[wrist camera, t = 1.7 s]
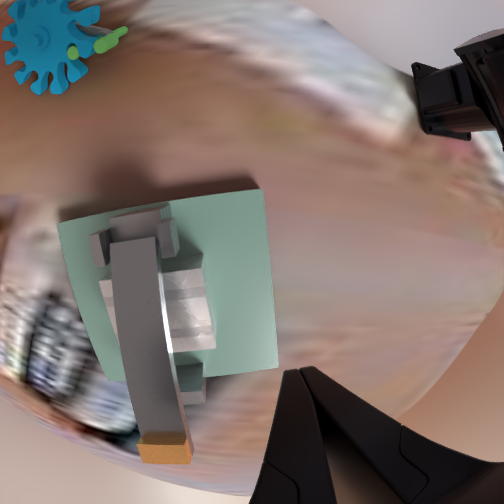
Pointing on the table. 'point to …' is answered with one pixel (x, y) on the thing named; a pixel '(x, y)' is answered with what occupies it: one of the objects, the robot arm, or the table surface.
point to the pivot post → (137, 232)
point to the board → (218, 271)
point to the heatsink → (180, 303)
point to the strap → (148, 352)
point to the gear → (55, 41)
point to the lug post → (192, 383)
